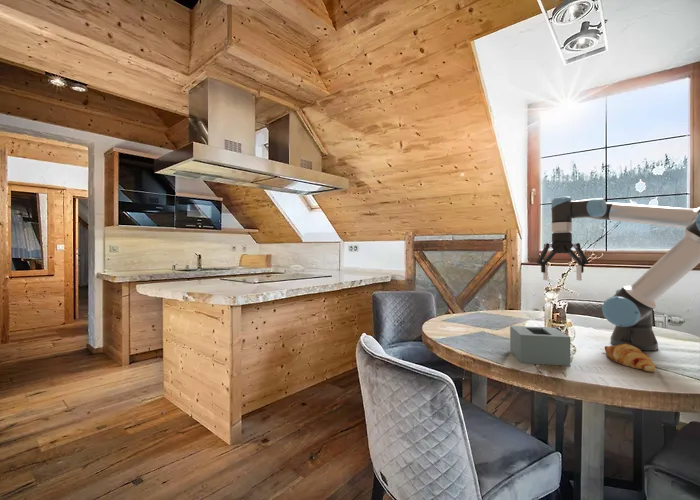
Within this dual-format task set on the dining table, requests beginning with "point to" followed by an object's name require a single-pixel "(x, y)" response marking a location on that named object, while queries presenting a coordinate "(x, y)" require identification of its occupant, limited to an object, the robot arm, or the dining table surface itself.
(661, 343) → the dining table surface
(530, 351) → the coin box
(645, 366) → the croissant
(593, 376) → the dining table surface
